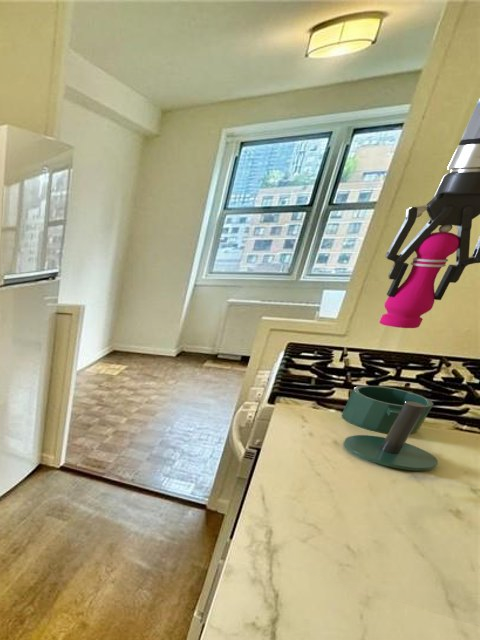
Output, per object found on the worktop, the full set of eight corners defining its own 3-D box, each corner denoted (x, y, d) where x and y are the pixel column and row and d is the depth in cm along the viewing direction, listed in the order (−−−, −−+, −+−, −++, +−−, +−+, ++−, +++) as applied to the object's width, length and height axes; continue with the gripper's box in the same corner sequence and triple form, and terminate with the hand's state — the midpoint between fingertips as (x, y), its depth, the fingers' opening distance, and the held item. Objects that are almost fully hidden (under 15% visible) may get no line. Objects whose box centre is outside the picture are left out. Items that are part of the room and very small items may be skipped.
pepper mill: (427, 325, 103) (480, 223, 94) (414, 330, 100) (467, 225, 91) (383, 319, 109) (429, 221, 99) (370, 323, 106) (415, 223, 96)
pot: (408, 414, 113) (422, 388, 109) (426, 445, 100) (443, 416, 97) (337, 403, 119) (349, 378, 116) (346, 430, 106) (359, 403, 103)
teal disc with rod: (426, 450, 98) (456, 399, 92) (443, 480, 88) (478, 425, 83) (338, 434, 105) (362, 386, 99) (345, 460, 95) (372, 408, 90)
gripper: (407, 172, 93) (354, 296, 104) (562, 168, 83) (485, 305, 94) (400, 173, 98) (350, 290, 109) (545, 168, 88) (474, 298, 99)
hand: (412, 297), depth 102 cm, fingers closed on pepper mill, 6 cm apart
